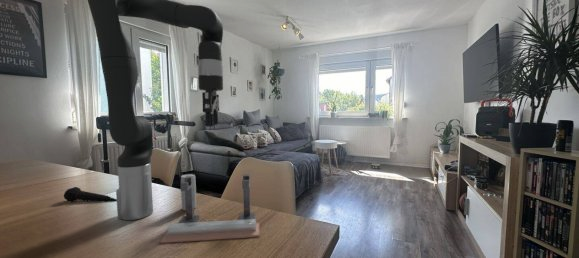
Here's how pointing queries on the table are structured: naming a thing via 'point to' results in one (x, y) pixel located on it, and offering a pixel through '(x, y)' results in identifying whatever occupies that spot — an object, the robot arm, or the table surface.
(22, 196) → the table surface
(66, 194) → the microphone
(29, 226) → the table surface
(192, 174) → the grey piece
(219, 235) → the felt mat
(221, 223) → the steel rail
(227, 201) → the table surface
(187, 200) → the hook standards
